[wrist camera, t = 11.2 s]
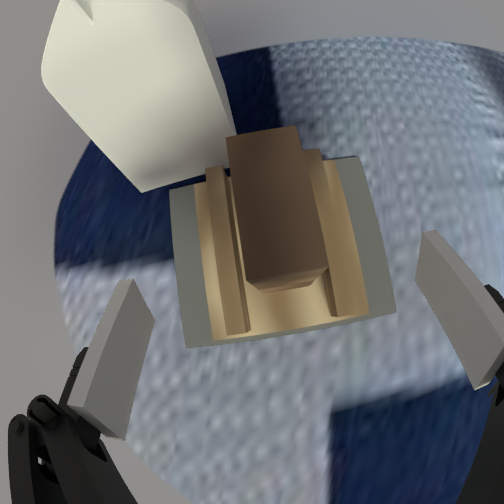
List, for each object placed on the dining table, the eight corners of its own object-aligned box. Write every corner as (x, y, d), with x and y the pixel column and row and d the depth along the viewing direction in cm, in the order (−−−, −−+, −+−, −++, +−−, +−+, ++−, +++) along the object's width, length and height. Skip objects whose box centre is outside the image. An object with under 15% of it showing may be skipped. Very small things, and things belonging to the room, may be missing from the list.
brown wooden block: (292, 199, 27) (295, 125, 16) (309, 286, 26) (329, 266, 14) (249, 207, 28) (225, 137, 16) (263, 293, 26) (246, 280, 14)
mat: (358, 157, 29) (358, 156, 28) (395, 312, 25) (396, 312, 25) (170, 191, 30) (169, 190, 30) (187, 347, 27) (186, 348, 27)
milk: (138, 112, 33) (30, -40, 8) (224, 84, 32) (165, -104, 7) (141, 192, 31) (-37, 30, 5) (243, 163, 30) (161, -93, 5)
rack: (332, 164, 29) (339, 141, 24) (366, 313, 26) (381, 314, 21) (196, 188, 30) (182, 168, 25) (215, 339, 27) (202, 345, 22)
